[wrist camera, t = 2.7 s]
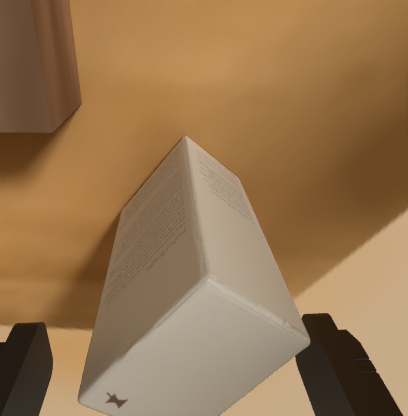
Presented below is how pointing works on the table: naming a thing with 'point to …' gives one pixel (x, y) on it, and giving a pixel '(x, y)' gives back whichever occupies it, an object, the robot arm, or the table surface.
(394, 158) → the table surface
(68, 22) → the peg shelf stand
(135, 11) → the table surface
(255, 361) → the skincare box
